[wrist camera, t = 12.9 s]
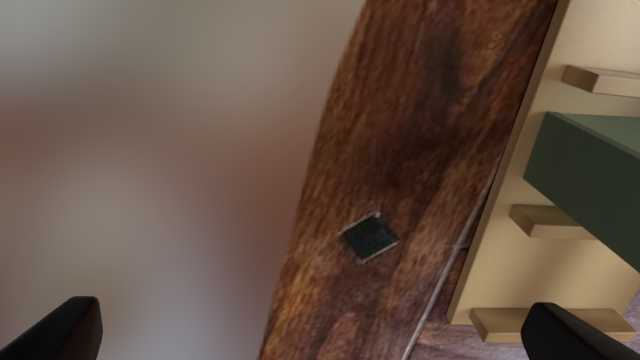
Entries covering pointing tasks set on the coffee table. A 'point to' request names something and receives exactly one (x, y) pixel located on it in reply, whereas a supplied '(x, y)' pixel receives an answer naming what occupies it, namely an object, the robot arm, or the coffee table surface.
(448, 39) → the coffee table surface
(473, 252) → the rack
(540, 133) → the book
